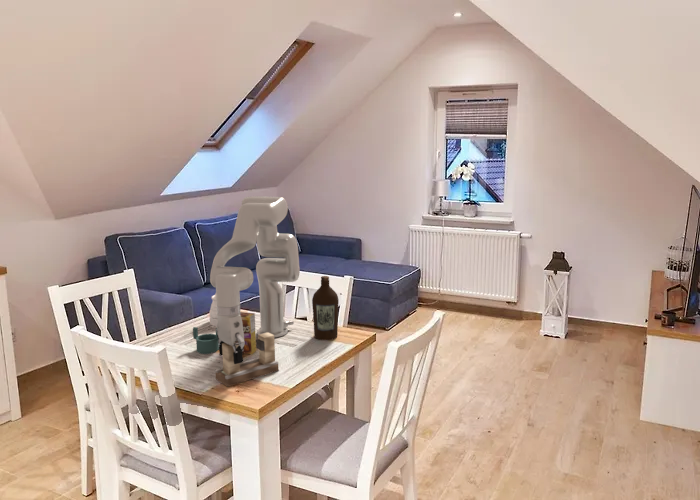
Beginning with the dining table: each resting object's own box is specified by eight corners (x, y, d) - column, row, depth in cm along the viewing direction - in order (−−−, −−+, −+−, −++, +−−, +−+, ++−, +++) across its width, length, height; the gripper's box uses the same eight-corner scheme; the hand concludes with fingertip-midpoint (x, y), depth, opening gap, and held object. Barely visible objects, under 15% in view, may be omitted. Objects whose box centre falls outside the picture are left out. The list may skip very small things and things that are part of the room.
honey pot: (212, 328, 252) (210, 287, 248) (207, 319, 263) (205, 280, 260) (242, 324, 257) (240, 284, 253) (236, 316, 268) (234, 277, 265)
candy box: (230, 352, 224) (228, 313, 221) (235, 348, 228) (234, 310, 225) (251, 355, 221) (249, 316, 218) (256, 351, 225) (255, 312, 222)
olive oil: (313, 332, 246) (311, 273, 241) (338, 331, 246) (337, 273, 241) (312, 341, 235) (311, 280, 230) (339, 340, 236) (338, 279, 231)
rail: (266, 364, 212) (265, 330, 210) (278, 370, 206) (277, 336, 204) (215, 378, 200) (213, 343, 197) (227, 386, 194) (225, 350, 191)
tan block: (237, 367, 202) (235, 339, 200) (243, 371, 199) (241, 343, 197) (223, 371, 199) (221, 343, 197) (229, 375, 196) (227, 346, 194)
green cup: (223, 351, 225) (222, 328, 224) (199, 355, 221) (197, 332, 219) (215, 344, 233) (214, 322, 231) (192, 348, 229) (191, 326, 227)
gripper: (252, 313, 190) (254, 363, 194) (226, 301, 203) (228, 348, 207) (231, 318, 186) (234, 369, 189) (206, 306, 199) (208, 354, 202)
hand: (231, 358), depth 198 cm, fingers open, 9 cm apart
